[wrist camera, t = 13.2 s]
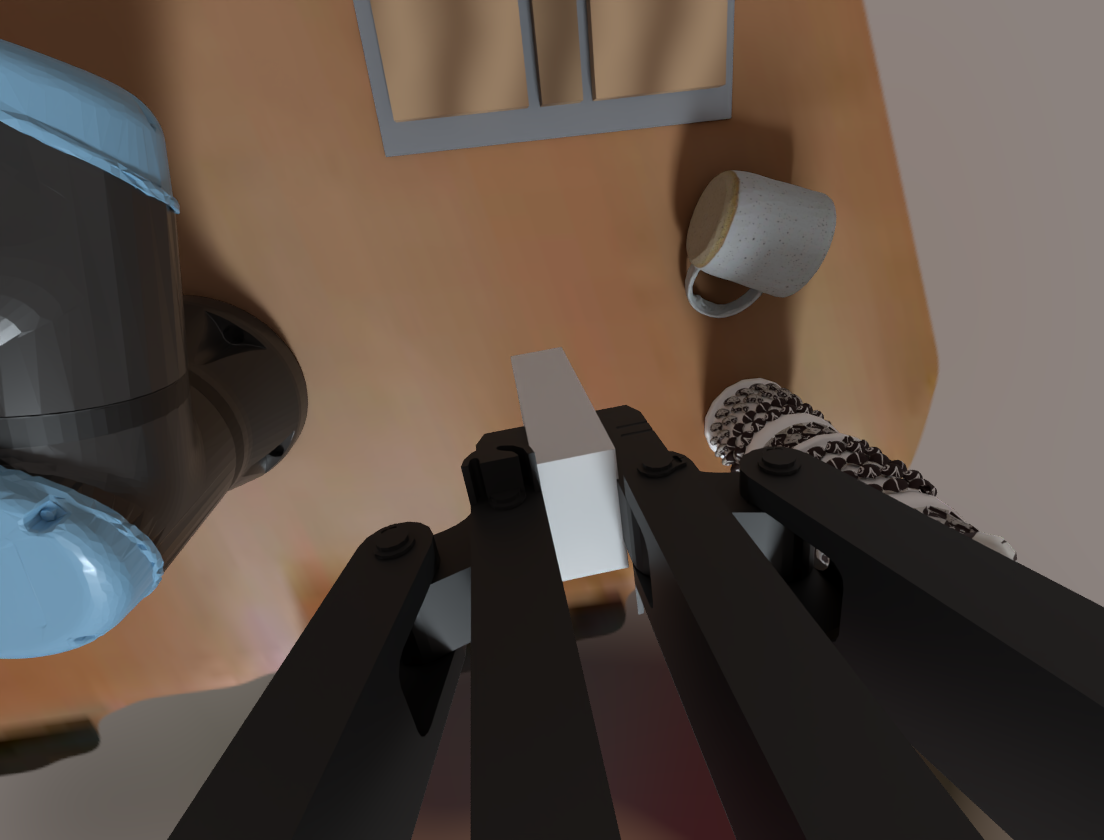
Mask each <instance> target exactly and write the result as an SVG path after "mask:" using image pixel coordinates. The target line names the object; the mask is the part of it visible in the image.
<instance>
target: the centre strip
mask: <svg viewBox="0 0 1104 840" xmlns="http://www.w3.org/2000/svg"><path fill="white" fill-rule="evenodd" d="M529 2H530V12H531V22H532V32H533V42H534V52H535V62H536V72H537V82H538V92H539V102H540V107H546V106H555V105H564V104H574V103H580V102H581V101H583V87H582V73H581V59H580V45H579V31H578V17H577V2H576V0H529Z"/></svg>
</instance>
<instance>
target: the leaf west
mask: <svg viewBox="0 0 1104 840" xmlns="http://www.w3.org/2000/svg"><path fill="white" fill-rule="evenodd" d="M370 3H371V8H372V13H373V18H374V23H375V28H376V33H377V38H378V43H379V48H380V53H381V58H382V63H383V68H384V73H385V78H386V83H387V88H388V93H389V98H390V103H391V108H392V113H393V118H394V121H396V122H406V121H415V120H424V119H433V118H442V117H452V116H461V115H470V114H479V113H489V112H498V111H507V110H516V109H525V108H528V107H529V101H528V92H527V82H526V73H525V63H524V54H523V45H522V35H521V26H520V17H519V7H518V0H370Z"/></svg>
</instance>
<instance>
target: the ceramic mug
mask: <svg viewBox="0 0 1104 840" xmlns="http://www.w3.org/2000/svg"><path fill="white" fill-rule="evenodd" d="M835 226H836V210H835V206H834V203H833V201H832V200H831V199H830V198H829V197H828V196H827V195H826V194H823V193H820V192H816V191H812V190H809V189H805V188H802V187H799V186H796V185H792V184H789V183H785V182H781V181H778V180H774V179H770V178H767V177H764V176H761V175H758V174H754V173H750V172H745V171H736V170H729V171H724V172H722V173H721V174H719V175H717V176H716V177H715V178H714V179H713V180H712V181H711V182H710V183H709V184H708V186H707V187H706V188H705V190H704V191H703V193H702V195H701V196H700V198H699V201H698V203H697V205H696V207H695V210H694V212H693V216H692V218H691V221H690V225H689V229H688V233H687V242H686V250H687V254H688V258H689V260H690V262H691V263H692V264H691V266H690V267H689V269H688V271H687V275H686V279H685V291H686V295H687V298H688V300H689V302H690V304H691V305H692V307H693V308H694V309H695V310H697V311H698V312H699V313H701V314H704V315H706V316H710V317H714V318H724V317H729V316H732V315H735V314H737V313H739V312H741V311H743V310H744V309H746V308H747V307H749V306H750V305H751V304H752V303H754V302H755V301H756V300H757V299H758V298H759V297H760V296H761V295H762V293H763V292H764V293H767V294H770V295H772V296H775V297H787V296H790V295H792V294H794V293H796V292H797V291H799V290H800V289H801V288H802V287H803V286H805V285H806V284H807V283H808V281H809V280H810V279H811V278H812V277H813V275H814V274H815V273H816V272H817V270H818V269H819V267H820V265H821V264H822V262H823V260H824V258H825V256H826V254H827V252H828V250H829V248H830V245H831V241H832V239H833V235H834V231H835ZM700 270H702V271H704V272H705V273H708V274H710V275H713V276H716V277H719V278H723V279H726V280H730V281H733V282H736V283H738V284H741V285H744V286H746V287H749V288H750V289H749V290H748V291H747V292H746V293H745V294H744V295H742V296H741V297H740V298H738V299H737V300H735V301H733V302H730V303H727V304H723V305H722V304H714V303H712V302H710V301H707V300H705V299H703V298H701V296H700V295H694V294H693V291H692V286H693V284H694V280H695V278H696V276H697V274H698V272H699V271H700Z"/></svg>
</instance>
